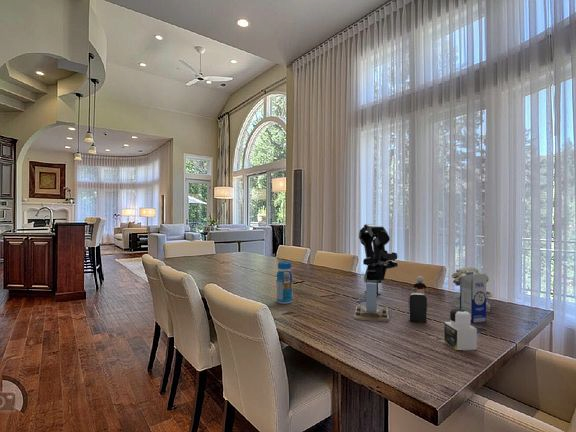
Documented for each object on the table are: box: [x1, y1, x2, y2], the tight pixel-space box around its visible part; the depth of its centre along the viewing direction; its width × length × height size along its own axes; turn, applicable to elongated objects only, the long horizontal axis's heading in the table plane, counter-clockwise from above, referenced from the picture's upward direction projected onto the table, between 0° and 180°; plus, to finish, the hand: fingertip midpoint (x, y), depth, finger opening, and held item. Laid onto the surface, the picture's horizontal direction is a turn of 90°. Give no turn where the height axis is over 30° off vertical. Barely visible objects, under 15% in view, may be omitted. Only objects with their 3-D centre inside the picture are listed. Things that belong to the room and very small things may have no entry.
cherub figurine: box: [449, 266, 493, 313], centre depth 153 cm, size 18×18×18 cm
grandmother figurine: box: [411, 275, 429, 296], centre depth 160 cm, size 8×4×13 cm, turn 84°
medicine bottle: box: [443, 308, 478, 351], centre depth 106 cm, size 7×7×12 cm
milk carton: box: [459, 272, 487, 324], centre depth 131 cm, size 7×7×20 cm
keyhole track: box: [353, 304, 390, 323], centre depth 138 cm, size 16×14×3 cm
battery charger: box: [408, 292, 428, 323], centre depth 130 cm, size 7×4×11 cm, turn 79°
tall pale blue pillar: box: [365, 282, 378, 313], centre depth 136 cm, size 5×4×13 cm
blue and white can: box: [275, 260, 294, 305], centre depth 159 cm, size 8×8×20 cm
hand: (382, 280), depth 154 cm, fingers closed
